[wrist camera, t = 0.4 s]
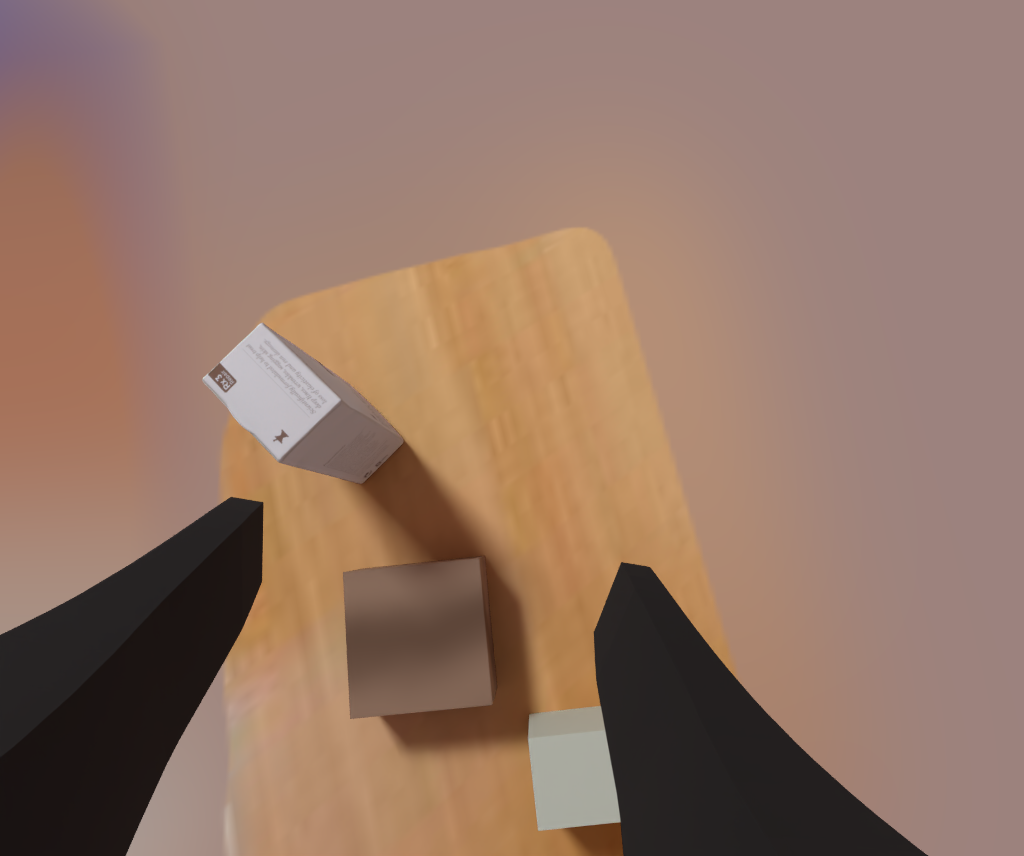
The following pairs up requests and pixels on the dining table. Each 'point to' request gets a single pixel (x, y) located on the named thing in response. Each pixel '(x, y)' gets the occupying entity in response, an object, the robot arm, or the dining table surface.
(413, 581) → the walnut block
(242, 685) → the dining table surface
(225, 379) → the skincare box
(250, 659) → the dining table surface
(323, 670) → the dining table surface
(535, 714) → the sage cube
